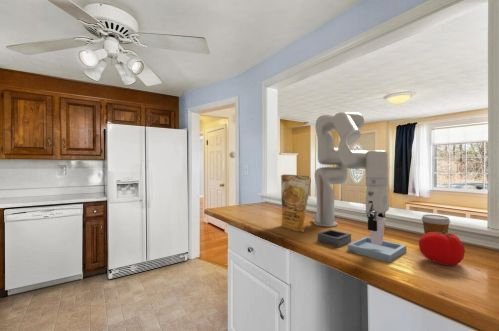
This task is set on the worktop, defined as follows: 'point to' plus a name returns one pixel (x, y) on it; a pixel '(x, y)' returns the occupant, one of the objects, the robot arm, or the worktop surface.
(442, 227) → the disposable coffee cup
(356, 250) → the tray
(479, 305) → the worktop surface
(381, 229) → the smoothie
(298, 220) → the pancake mix bag
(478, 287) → the worktop surface
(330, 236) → the dark grey open box
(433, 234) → the tomato
